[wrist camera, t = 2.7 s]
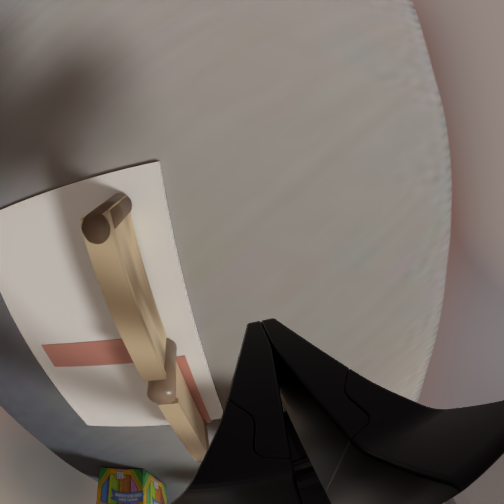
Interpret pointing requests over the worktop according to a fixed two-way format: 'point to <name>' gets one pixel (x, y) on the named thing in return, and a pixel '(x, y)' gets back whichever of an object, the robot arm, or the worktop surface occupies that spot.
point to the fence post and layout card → (105, 308)
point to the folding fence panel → (126, 283)
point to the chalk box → (129, 487)
